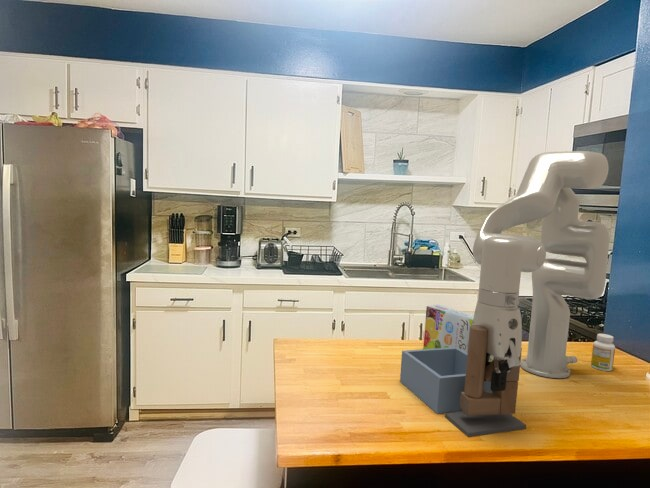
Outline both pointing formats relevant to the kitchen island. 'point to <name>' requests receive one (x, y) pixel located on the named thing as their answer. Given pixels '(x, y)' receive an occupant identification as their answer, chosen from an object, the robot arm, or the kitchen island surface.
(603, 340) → the supplement bottle
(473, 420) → the place mat
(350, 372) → the kitchen island surface
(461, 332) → the snack box
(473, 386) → the brown piece
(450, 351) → the box
